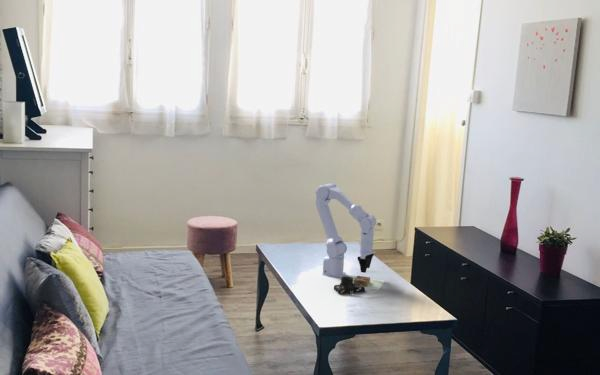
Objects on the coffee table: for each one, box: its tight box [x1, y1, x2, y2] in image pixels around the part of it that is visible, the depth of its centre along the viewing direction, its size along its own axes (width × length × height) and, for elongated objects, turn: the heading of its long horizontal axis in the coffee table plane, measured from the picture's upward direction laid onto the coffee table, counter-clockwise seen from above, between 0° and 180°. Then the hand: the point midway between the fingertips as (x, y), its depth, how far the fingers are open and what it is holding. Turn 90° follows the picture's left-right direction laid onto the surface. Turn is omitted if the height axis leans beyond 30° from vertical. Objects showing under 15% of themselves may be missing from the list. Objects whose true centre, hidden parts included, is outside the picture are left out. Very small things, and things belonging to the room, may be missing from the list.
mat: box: [346, 275, 386, 291], centre depth 292 cm, size 18×14×1 cm
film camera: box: [333, 276, 366, 296], centre depth 280 cm, size 13×8×10 cm
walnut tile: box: [354, 275, 371, 287], centre depth 290 cm, size 6×2×7 cm
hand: (365, 270), depth 295 cm, fingers open, 7 cm apart
